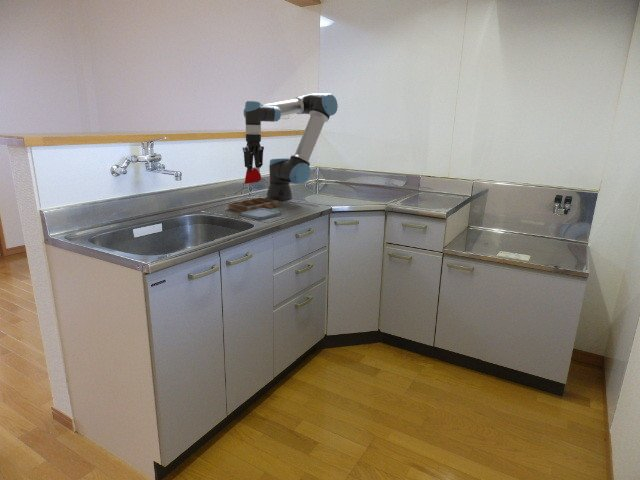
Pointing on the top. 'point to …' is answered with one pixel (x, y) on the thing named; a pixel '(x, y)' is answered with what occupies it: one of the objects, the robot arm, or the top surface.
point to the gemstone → (252, 176)
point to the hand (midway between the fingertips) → (254, 180)
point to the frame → (242, 205)
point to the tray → (260, 213)
